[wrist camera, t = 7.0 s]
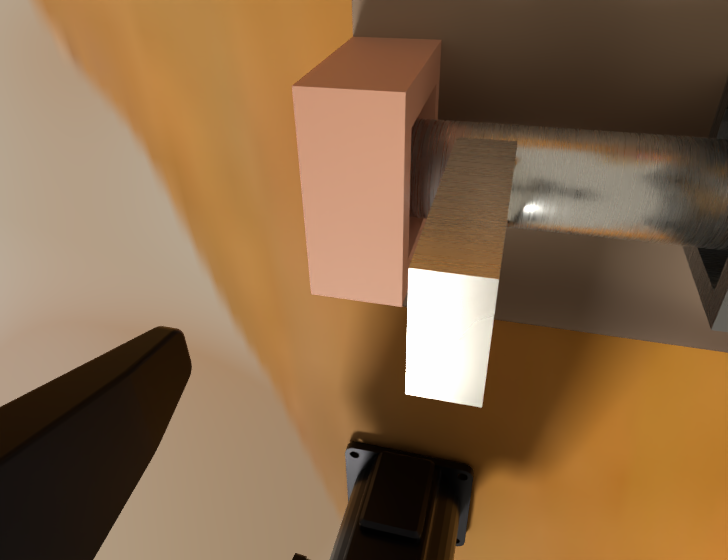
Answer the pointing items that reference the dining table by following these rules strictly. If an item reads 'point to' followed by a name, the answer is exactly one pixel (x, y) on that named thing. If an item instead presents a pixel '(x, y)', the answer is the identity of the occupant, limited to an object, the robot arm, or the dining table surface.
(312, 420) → the dining table surface
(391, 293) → the socket block
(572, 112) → the grey base plate
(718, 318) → the sleeve
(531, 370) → the dining table surface
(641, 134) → the tube
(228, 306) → the dining table surface
